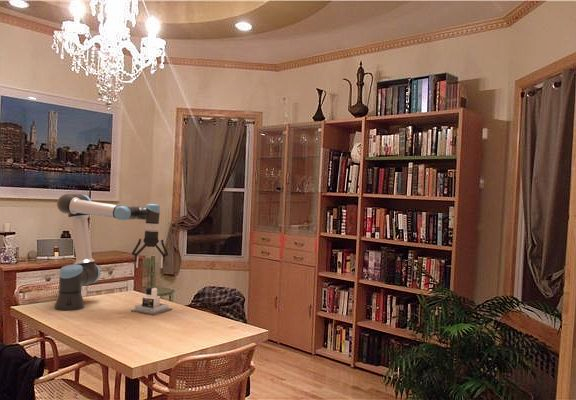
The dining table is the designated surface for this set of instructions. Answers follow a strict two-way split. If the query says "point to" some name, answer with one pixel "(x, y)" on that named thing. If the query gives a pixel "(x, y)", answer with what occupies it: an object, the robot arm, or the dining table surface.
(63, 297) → the robot arm
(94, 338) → the dining table surface
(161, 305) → the square holder
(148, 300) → the medicine bottle
